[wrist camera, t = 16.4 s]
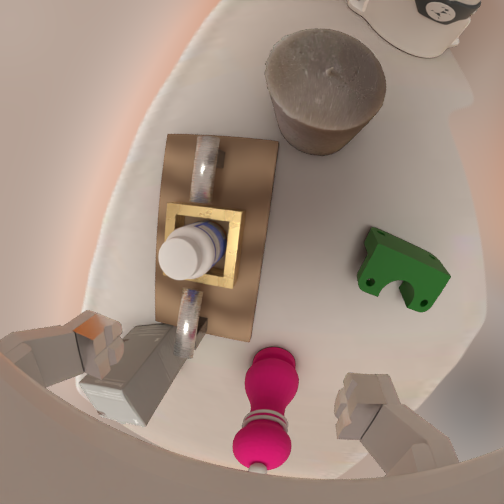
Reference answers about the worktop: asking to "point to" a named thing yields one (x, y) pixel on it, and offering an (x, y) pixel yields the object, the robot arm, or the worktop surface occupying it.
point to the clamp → (401, 270)
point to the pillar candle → (323, 88)
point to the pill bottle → (192, 250)
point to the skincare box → (136, 376)
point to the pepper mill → (267, 411)
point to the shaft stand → (229, 218)
